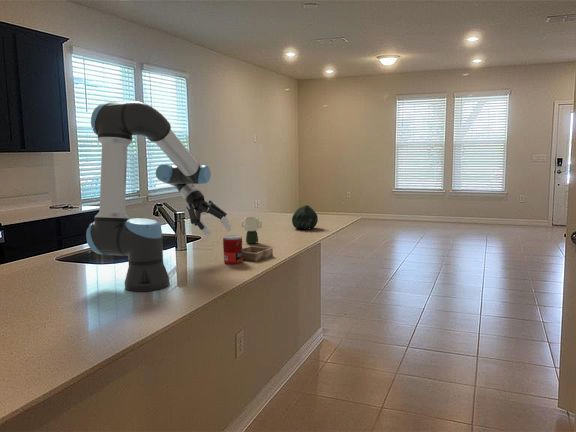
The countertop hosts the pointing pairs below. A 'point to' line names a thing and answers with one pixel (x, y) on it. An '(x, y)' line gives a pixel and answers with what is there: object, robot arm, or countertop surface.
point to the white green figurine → (251, 228)
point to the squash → (304, 218)
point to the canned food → (232, 249)
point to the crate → (256, 253)
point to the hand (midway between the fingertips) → (219, 232)
